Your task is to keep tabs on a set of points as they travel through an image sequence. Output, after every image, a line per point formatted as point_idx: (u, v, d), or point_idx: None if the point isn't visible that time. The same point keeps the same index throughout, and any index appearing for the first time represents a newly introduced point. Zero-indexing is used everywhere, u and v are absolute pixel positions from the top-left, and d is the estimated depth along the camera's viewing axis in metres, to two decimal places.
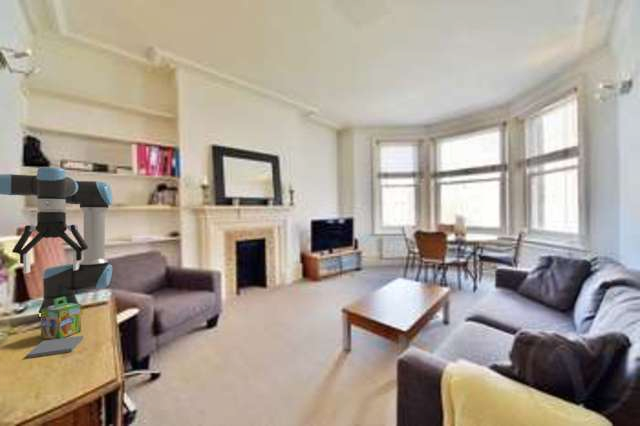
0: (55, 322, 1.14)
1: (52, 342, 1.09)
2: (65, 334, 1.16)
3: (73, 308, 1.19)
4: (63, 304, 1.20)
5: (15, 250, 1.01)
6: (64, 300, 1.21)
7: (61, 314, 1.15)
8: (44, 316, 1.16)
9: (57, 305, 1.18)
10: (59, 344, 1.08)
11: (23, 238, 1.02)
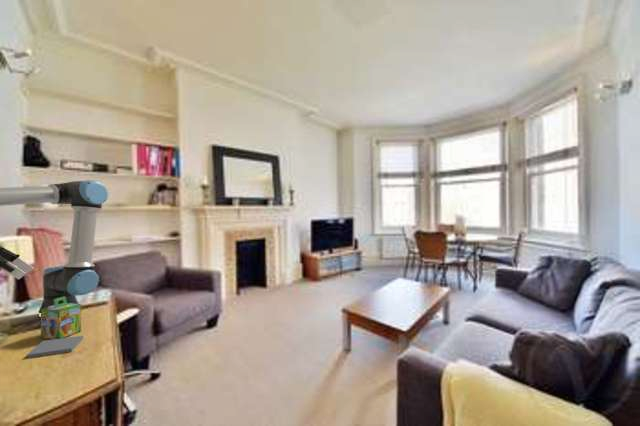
0: (55, 322, 1.14)
1: (52, 342, 1.09)
2: (65, 334, 1.16)
3: (73, 308, 1.19)
4: (63, 304, 1.20)
5: None
6: (64, 300, 1.21)
7: (61, 314, 1.15)
8: (44, 316, 1.16)
9: (57, 305, 1.18)
10: (59, 344, 1.08)
11: None
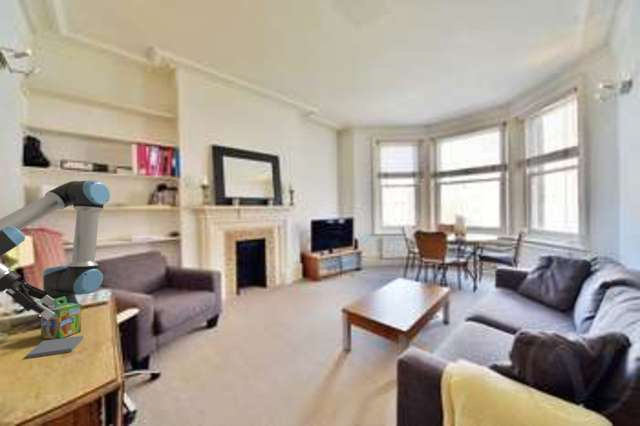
0: (55, 322, 1.14)
1: (52, 342, 1.09)
2: (65, 334, 1.16)
3: (73, 308, 1.19)
4: (63, 304, 1.20)
5: None
6: (64, 300, 1.21)
7: (61, 313, 1.15)
8: None
9: (57, 305, 1.18)
10: (59, 344, 1.08)
11: None
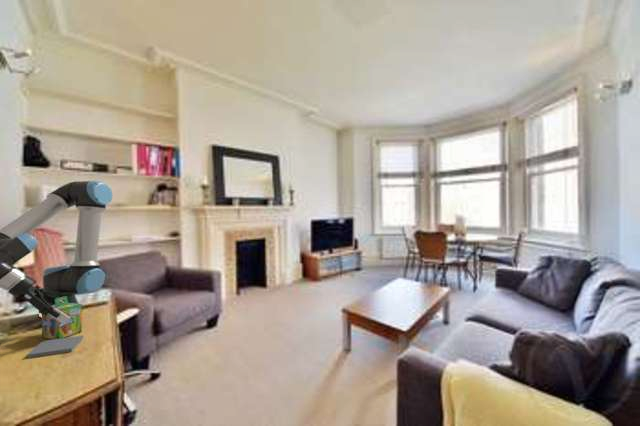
0: (55, 322, 1.14)
1: (52, 342, 1.09)
2: (65, 334, 1.16)
3: (73, 308, 1.19)
4: (64, 304, 1.20)
5: None
6: (65, 300, 1.21)
7: None
8: None
9: (58, 305, 1.18)
10: (59, 344, 1.08)
11: None
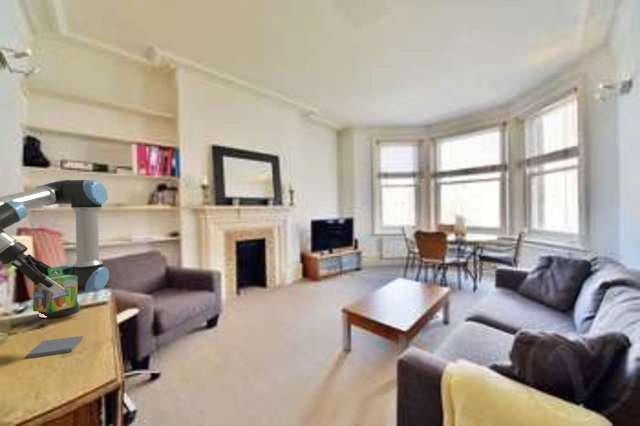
0: (47, 293, 1.03)
1: (52, 342, 1.09)
2: (58, 307, 1.05)
3: (68, 279, 1.08)
4: (58, 275, 1.09)
5: None
6: (60, 271, 1.10)
7: None
8: (37, 286, 1.04)
9: (51, 275, 1.07)
10: (59, 344, 1.08)
11: None
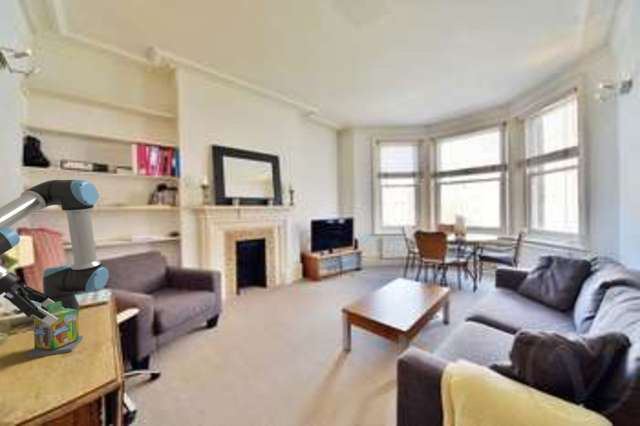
0: (48, 330, 1.03)
1: None
2: (61, 343, 1.05)
3: (68, 314, 1.08)
4: (58, 310, 1.08)
5: None
6: (59, 305, 1.09)
7: None
8: (37, 323, 1.04)
9: (51, 311, 1.06)
10: None
11: None
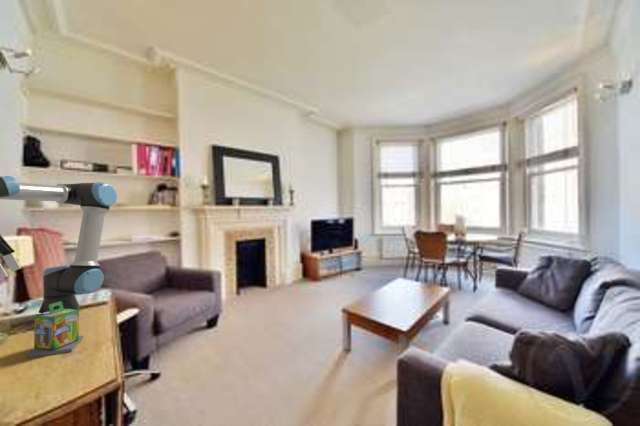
0: (49, 330, 1.03)
1: None
2: (61, 344, 1.05)
3: (69, 314, 1.08)
4: (59, 310, 1.09)
5: None
6: (60, 305, 1.10)
7: (56, 321, 1.04)
8: (38, 323, 1.04)
9: (52, 311, 1.07)
10: None
11: None
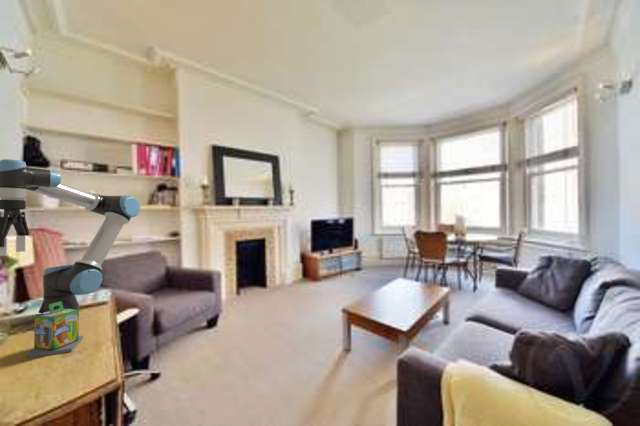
0: (49, 330, 1.03)
1: None
2: (61, 344, 1.05)
3: (69, 314, 1.08)
4: (59, 310, 1.09)
5: None
6: (60, 305, 1.10)
7: (56, 321, 1.04)
8: (38, 323, 1.04)
9: (52, 311, 1.07)
10: None
11: None
